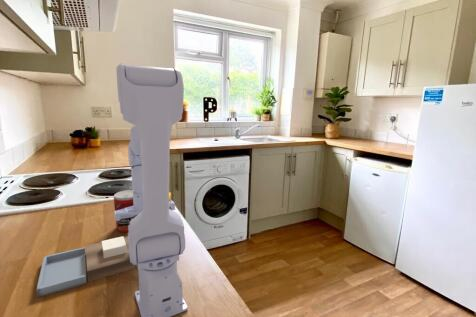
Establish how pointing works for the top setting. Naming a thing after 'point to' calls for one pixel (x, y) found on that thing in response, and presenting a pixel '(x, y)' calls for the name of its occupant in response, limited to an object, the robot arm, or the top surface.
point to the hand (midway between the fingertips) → (147, 239)
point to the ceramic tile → (114, 247)
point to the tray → (62, 271)
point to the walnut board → (106, 262)
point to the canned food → (121, 202)
